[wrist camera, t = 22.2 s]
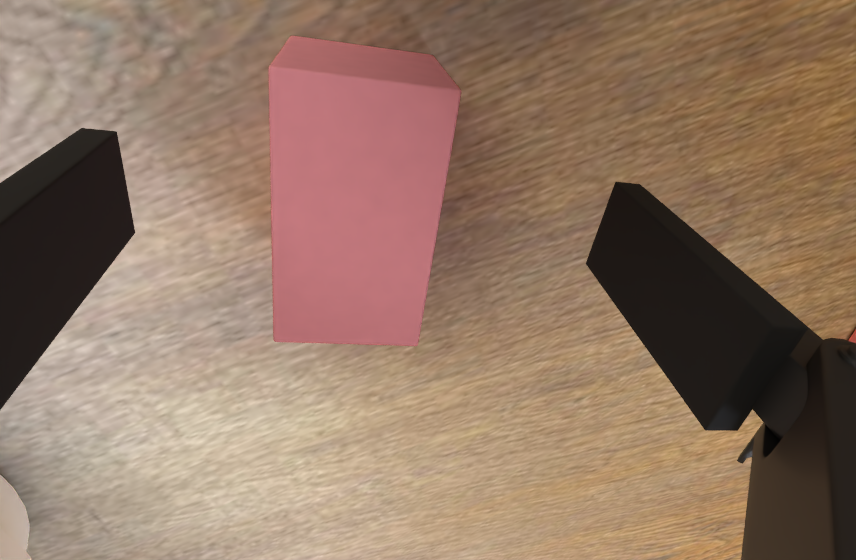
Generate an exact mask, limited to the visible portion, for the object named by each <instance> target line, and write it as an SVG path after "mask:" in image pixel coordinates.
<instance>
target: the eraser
mask: <svg viewBox="0 0 856 560" xmlns="http://www.w3.org/2000/svg"><path fill="white" fill-rule="evenodd" d="M268 69H269V123H270V176H271V230H272V283H273V337H274V341H275V342H298V343H332V344H366V345H401V346H417V345H418V341H419V336H420V330H421V324H422V318H423V312H424V307H425V301H426V295H427V289H428V283H429V278H430V272H431V266H432V260H433V254H434V249H435V243H436V237H437V231H438V225H439V220H440V214H441V208H442V202H443V196H444V191H445V185H446V179H447V173H448V167H449V162H450V156H451V150H452V144H453V138H454V133H455V127H456V121H457V115H458V110H459V104H460V98H461V90H460V88H459V87H458V86H457V85H456V83H455V82H454V81H453V80H452V78H451V77H450V76H449V75H448V73H447V72H446V71H445V70H444V68H443V67H442V66H441V65H440V63H439V62H438V61H437V60H436V58H435V57H434V56H433V55H430V54H422V53H415V52H408V51H401V50H393V49H386V48H379V47H372V46H364V45H357V44H350V43H342V42H335V41H328V40H321V39H313V38H306V37H299V36H290V37H289V39H288V40H287V42H286V43H285V44H284V46H283V47H282V49H281V50H280V52H279V53H278V54H277V56H276V57H275V59H274V60H273V62H272V63H271V64H270V66H269V68H268Z"/></svg>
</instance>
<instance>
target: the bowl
mask: <svg viewBox="0 0 856 560" xmlns="http://www.w3.org/2000/svg"><path fill="white" fill-rule="evenodd" d="M29 532H30V524H29V520H28V515H27V511H26V507H25V506H24V504H23V502H22V501H21V499H20V497H19V496H18V494H17V493H16V491H15V489H14V488H13V487H12V486H11V485H10V484H9V483H8V482H7V481H6V480H5V479H4V478H3V477H2V476H1V475H0V560H32V559H31V557H30V556H29V554H28V553H27V546H28V539H29Z"/></svg>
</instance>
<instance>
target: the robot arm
mask: <svg viewBox="0 0 856 560" xmlns="http://www.w3.org/2000/svg"><path fill="white" fill-rule="evenodd" d="M134 233H135V230H134V224H133V219H132V213H131V208H130V202H129V197H128V191H127V186H126V180H125V175H124V169H123V164H122V158H121V153H120V147H119V142H118V136H117V132H115V131H105V130H95V129H85V128H81V129H80V130H78V131H77V132H75V133H74V134H72V135H71V136H69V137H68V138H66V139H65V140H63V141H62V142H60V143H59V144H57V145H56V146H54V147H53V148H51V149H50V150H48V151H47V152H46V153H44V154H43V155H41V156H40V157H38V158H37V159H35V160H34V161H32V162H31V163H29V164H28V165H26V166H25V167H23V168H22V169H20V170H19V171H17V172H16V173H14V174H13V175H12V176H10V177H9V178H7V179H6V180H4V181H3V182H1V183H0V409H1V408H2V407H3V406H4V404H5V403H6V402H7V400H8V399H9V398H10V396H11V395H12V394H13V392H14V391H15V390H16V388H17V387H18V386H19V385H20V383H21V382H22V381H23V379H24V378H25V377H26V375H27V374H28V373H29V371H30V370H31V369H32V367H33V366H34V365H35V363H36V362H37V361H38V360H39V358H40V357H41V356H42V354H43V353H44V352H45V350H46V349H47V348H48V346H49V345H50V344H51V342H52V341H53V340H54V339H55V337H56V336H57V335H58V333H59V332H60V331H61V329H62V328H63V327H64V325H65V324H66V323H67V321H68V320H69V319H70V318H71V316H72V315H73V314H74V312H75V311H76V310H77V308H78V307H79V306H80V304H81V303H82V302H83V300H84V299H85V298H86V296H87V295H88V294H89V293H90V291H91V290H92V289H93V287H94V286H95V285H96V283H97V282H98V281H99V279H100V278H101V277H102V275H103V274H104V273H105V272H106V270H107V269H108V268H109V266H110V265H111V264H112V262H113V261H114V260H115V258H116V257H117V256H118V254H119V253H120V252H121V250H122V249H123V248H124V247H125V245H126V244H127V243H128V241H129V240H130V239H131V237H132V236H133V235H134ZM586 265H587V266H588V267H589V269H590V270H591V272H592V273H593V274H594V276H595V277H596V279H597V280H598V281H599V283H600V284H601V286H602V287H603V288H604V290H605V291H606V292H607V294H608V295H609V297H610V298H611V299H612V301H613V302H614V304H615V305H616V306H617V308H618V309H619V311H620V312H621V313H622V315H623V316H624V318H625V319H626V320H627V322H628V323H629V325H630V326H631V327H632V329H633V330H634V332H635V333H636V334H637V336H638V337H639V338H640V340H641V341H642V343H643V344H644V345H645V347H646V348H647V350H648V351H649V352H650V354H651V355H652V357H653V358H654V359H655V361H656V362H657V364H658V365H659V366H660V368H661V369H662V371H663V372H664V373H665V375H666V376H667V378H668V379H669V380H670V382H671V383H672V384H673V386H674V387H675V389H676V390H677V391H678V393H679V394H680V396H681V397H682V398H683V400H684V401H685V403H686V404H687V405H688V407H689V408H690V410H691V411H692V412H693V414H694V415H695V417H696V418H697V419H698V421H699V422H700V424H701V425H702V426H703V428H704V429H705V430H738V429H739V428H740V426H741V425H742V423H743V422H744V420H745V419H746V418H747V416H748V415H749V413H750V412H751V410H752V409H753V410H754V411H755V412H756V414H757V415H758V416H759V417H760V418H761V419H762V421H763V422H764V423H763V424H762V425H761V427H760V428H759V430H758V431H757V432H756V434H755V435H754V436H753V438H752V439H751V441H750V442H749V443H748V445H747V446H746V448H745V449H744V450H743V452H742V453H741V454H740V456H739V458H738V460H737V461H738V462H740V463H742V464H743V462H744V461H745V460H746V458H749V457H752V463H751V473H750V482H749V491H748V500H747V510H746V519H745V528H744V537H743V547H742V556H741V560H856V343H854V342H850V341H847V340H844V339H836V338H829V339H825V340H823V339H821V338H820V337H819V336H818V335H817V334H816V333H814V332H813V331H812V330H811V329H810V328H809V327H807V326H806V325H805V324H804V323H803V322H801V321H800V320H799V319H798V318H797V317H796V316H794V315H793V314H792V313H791V312H790V311H789V310H787V309H786V308H785V307H784V306H783V305H781V304H780V303H779V302H778V301H777V300H776V299H774V298H773V297H772V296H771V295H770V294H768V293H767V292H766V291H765V290H764V289H763V288H761V287H760V286H759V285H758V284H757V283H756V282H754V281H753V280H752V279H751V278H750V277H748V276H747V275H746V274H745V273H744V272H743V271H741V270H740V269H739V268H738V267H737V266H735V265H734V264H733V263H732V262H731V261H730V260H728V259H727V258H726V257H725V256H724V255H723V254H721V253H720V252H719V251H718V250H717V249H715V248H714V247H713V246H712V245H711V244H710V243H708V242H707V241H706V240H705V239H704V238H703V237H701V236H700V235H699V234H698V233H697V232H695V231H694V230H693V229H692V228H691V227H690V226H688V225H687V224H686V223H685V222H684V221H682V220H681V219H680V218H679V217H678V216H677V215H675V214H674V213H673V212H672V211H671V210H670V209H668V208H667V207H666V206H665V205H664V204H662V203H661V202H660V201H659V200H658V199H657V198H655V197H654V196H653V195H652V194H651V193H650V192H648V191H647V190H646V189H645V188H644V187H642V186H641V185H640V184H632V183H622V182H615V185H614V188H613V190H612V193H611V196H610V199H609V201H608V204H607V207H606V210H605V212H604V215H603V218H602V221H601V223H600V226H599V229H598V231H597V234H596V237H595V240H594V242H593V245H592V248H591V251H590V253H589V256H588V259H587V262H586Z"/></svg>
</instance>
